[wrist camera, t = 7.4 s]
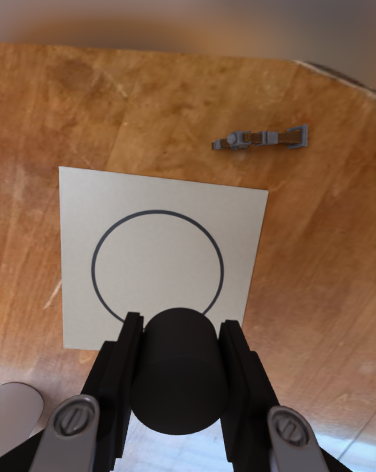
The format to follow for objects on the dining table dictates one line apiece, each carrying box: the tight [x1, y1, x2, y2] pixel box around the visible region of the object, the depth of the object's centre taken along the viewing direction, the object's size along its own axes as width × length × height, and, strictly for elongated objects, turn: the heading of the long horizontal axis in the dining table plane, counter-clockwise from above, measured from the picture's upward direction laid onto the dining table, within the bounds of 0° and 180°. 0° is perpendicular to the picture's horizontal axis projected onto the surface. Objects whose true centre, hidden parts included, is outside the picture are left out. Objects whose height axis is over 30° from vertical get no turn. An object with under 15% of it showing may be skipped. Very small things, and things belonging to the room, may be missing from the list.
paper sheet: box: [59, 166, 269, 350], centre depth 24 cm, size 20×20×1 cm
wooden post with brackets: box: [212, 124, 308, 150], centre depth 20 cm, size 2×8×4 cm, turn 96°
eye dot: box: [130, 307, 230, 435], centre depth 10 cm, size 4×4×3 cm
